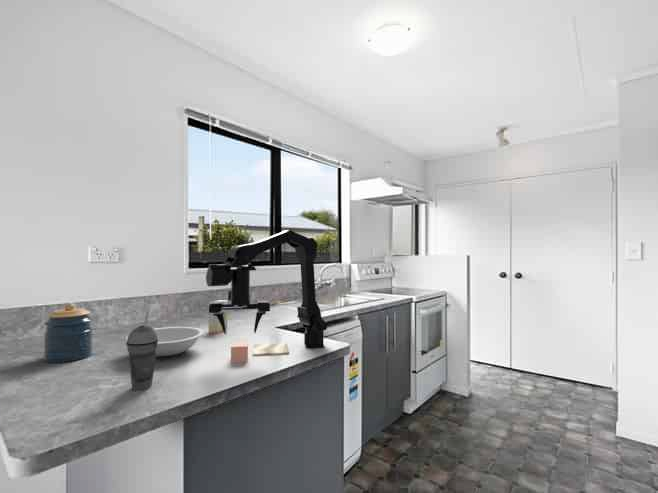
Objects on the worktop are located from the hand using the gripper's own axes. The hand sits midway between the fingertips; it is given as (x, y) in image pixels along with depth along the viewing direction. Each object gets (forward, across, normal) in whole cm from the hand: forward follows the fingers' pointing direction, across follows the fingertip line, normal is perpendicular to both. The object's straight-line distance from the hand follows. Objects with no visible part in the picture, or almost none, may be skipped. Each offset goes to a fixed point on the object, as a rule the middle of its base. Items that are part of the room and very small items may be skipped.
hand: (240, 333), depth 113 cm
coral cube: (+9, 0, 0) cm, 9 cm away
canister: (+8, +55, -12) cm, 57 cm away
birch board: (+8, -10, -10) cm, 16 cm away
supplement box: (+9, +12, -43) cm, 45 cm away
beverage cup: (+9, +23, +19) cm, 31 cm away
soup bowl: (+9, +25, -11) cm, 29 cm away
